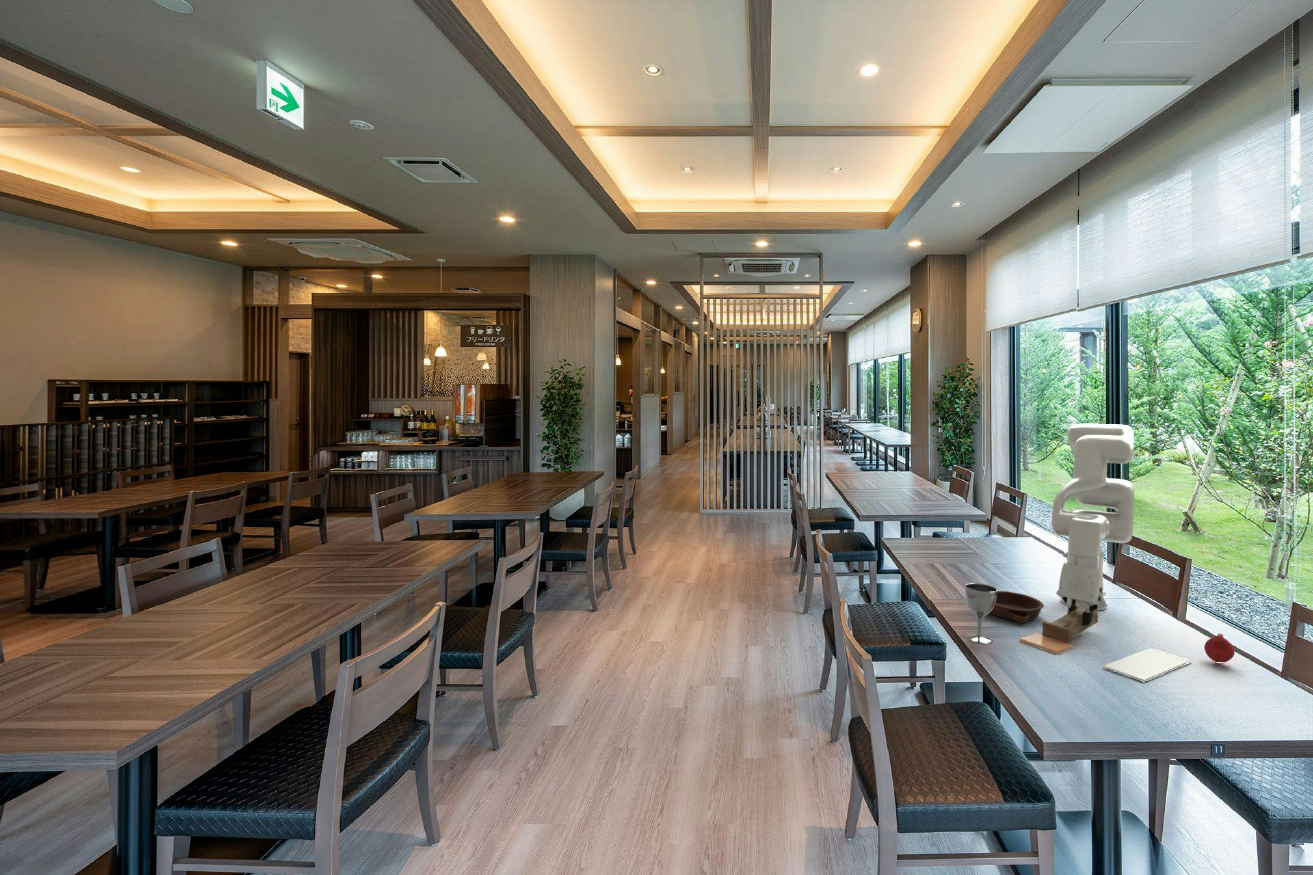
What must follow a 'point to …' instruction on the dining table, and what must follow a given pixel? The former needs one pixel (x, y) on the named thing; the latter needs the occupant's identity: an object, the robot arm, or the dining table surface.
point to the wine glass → (980, 607)
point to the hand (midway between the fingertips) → (1079, 622)
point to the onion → (1219, 649)
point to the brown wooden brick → (1068, 625)
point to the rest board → (1146, 664)
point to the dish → (1016, 606)
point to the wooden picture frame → (1046, 643)
